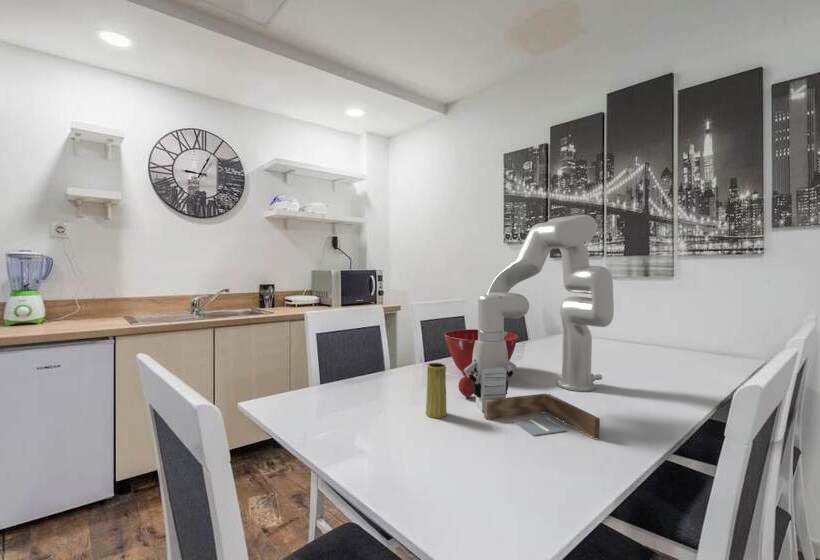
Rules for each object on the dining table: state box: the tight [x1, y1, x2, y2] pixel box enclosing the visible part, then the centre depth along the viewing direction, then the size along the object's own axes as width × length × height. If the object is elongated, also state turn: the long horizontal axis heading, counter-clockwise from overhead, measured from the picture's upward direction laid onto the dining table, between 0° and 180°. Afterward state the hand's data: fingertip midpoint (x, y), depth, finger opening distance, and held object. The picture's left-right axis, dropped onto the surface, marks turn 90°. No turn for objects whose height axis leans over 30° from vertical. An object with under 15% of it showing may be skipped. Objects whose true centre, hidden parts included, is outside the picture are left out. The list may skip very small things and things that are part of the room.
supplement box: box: [475, 367, 507, 413], centre depth 123 cm, size 7×7×13 cm
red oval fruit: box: [458, 374, 474, 399], centre depth 133 cm, size 6×6×8 cm
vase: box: [425, 362, 448, 419], centre depth 118 cm, size 6×6×14 cm
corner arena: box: [483, 393, 601, 439], centre depth 109 cm, size 21×21×5 cm
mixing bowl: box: [444, 328, 519, 375], centre depth 163 cm, size 28×28×16 cm
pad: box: [511, 415, 568, 437], centre depth 110 cm, size 10×10×1 cm
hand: (490, 394), depth 123 cm, fingers closed on supplement box, 8 cm apart
